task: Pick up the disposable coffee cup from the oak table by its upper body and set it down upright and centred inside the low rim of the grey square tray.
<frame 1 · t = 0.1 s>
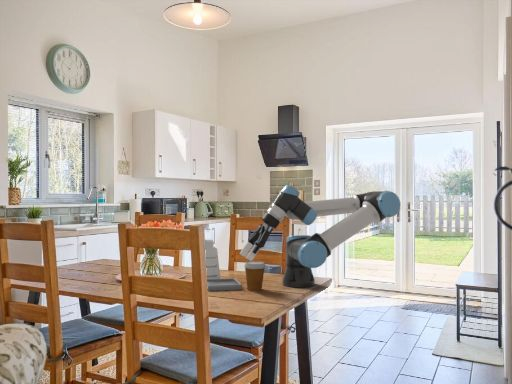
hand: (245, 257, 187), 15 cm above the table, tool tilted 35°, fingers open, 13 cm apart
grey square tray: (222, 286, 200), on the table
grater: (208, 280, 217), on the table
disposable coffee cup: (254, 290, 195), on the table
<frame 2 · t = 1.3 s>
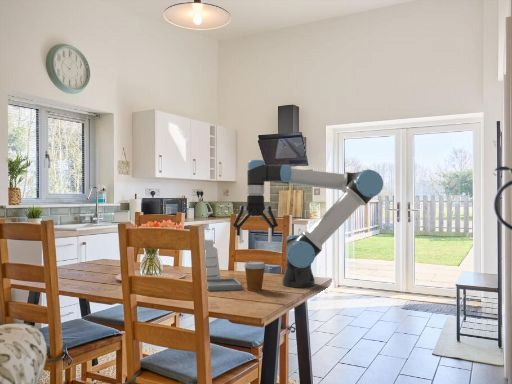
hand: (255, 243, 195), 21 cm above the table, tool pointing down, fingers open, 13 cm apart
nothing on the table moved.
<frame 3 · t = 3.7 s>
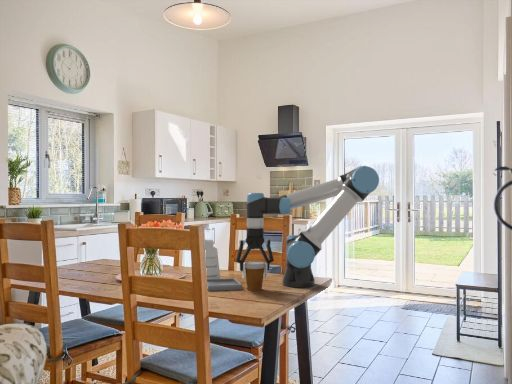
hand: (254, 278, 195), 5 cm above the table, tool pointing down, fingers closed on disposable coffee cup, 9 cm apart
disposable coffee cup: (254, 290, 195), on the table, touching gripper
everything else where it was.
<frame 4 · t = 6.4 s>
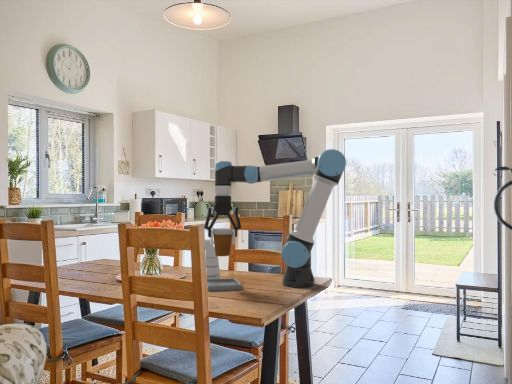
hand: (222, 244, 200), 19 cm above the table, tool pointing down, fingers closed on disposable coffee cup, 9 cm apart
disposable coffee cup: (222, 255, 200), point 14 cm above the table, touching gripper
everything else where it was.
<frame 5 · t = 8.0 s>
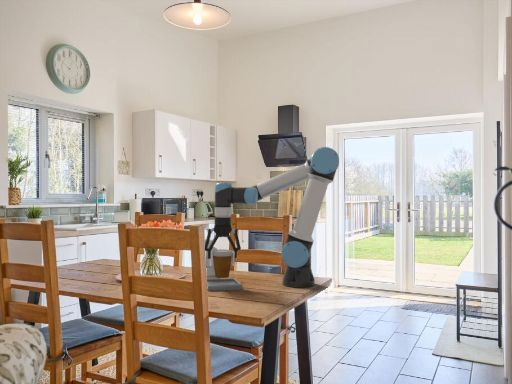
hand: (222, 265, 200), 10 cm above the table, tool pointing down, fingers closed on disposable coffee cup, 9 cm apart
disposable coffee cup: (222, 277, 200), point 4 cm above the table, touching gripper
everything else where it was.
when the fingers open (8 cm above the table, at t = 9.4 s): disposable coffee cup stays where it is, resting on grey square tray.
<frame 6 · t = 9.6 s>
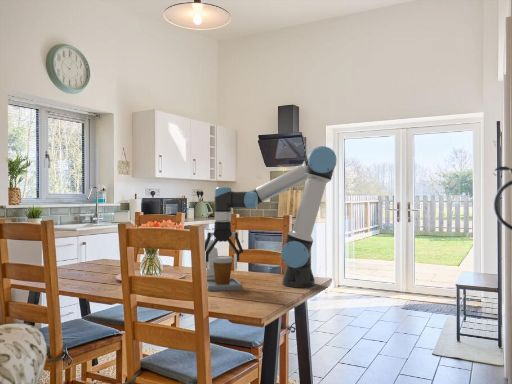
hand: (222, 268, 200), 8 cm above the table, tool pointing down, fingers open, 11 cm apart
disposable coffee cup: (222, 284, 200), point 1 cm above the table, touching grey square tray
everything else where it was.
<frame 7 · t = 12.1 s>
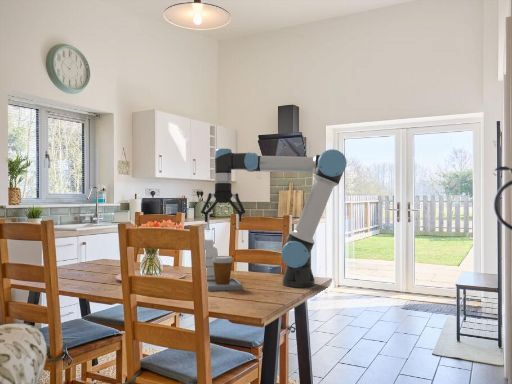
hand: (223, 229, 201), 26 cm above the table, tool pointing down, fingers open, 13 cm apart
nothing on the table moved.
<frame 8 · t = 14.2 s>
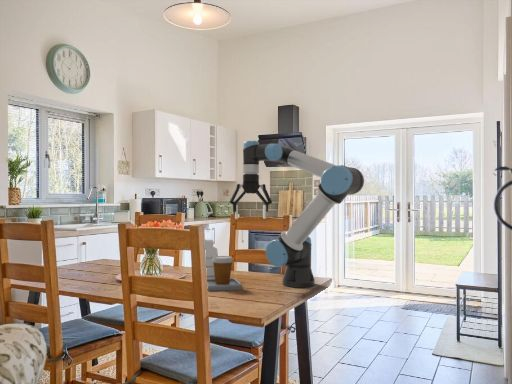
hand: (250, 218, 208), 31 cm above the table, tool pointing down, fingers open, 13 cm apart
nothing on the table moved.
at the end: disposable coffee cup 0.1 cm from the grey square tray (horizontally); disposable coffee cup point 1.3 cm above the table; disposable coffee cup tilted 0° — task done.
